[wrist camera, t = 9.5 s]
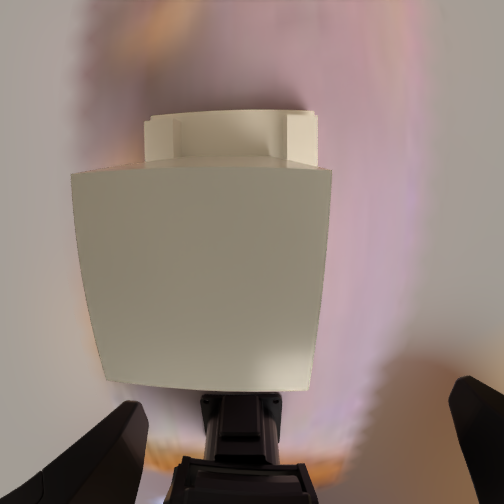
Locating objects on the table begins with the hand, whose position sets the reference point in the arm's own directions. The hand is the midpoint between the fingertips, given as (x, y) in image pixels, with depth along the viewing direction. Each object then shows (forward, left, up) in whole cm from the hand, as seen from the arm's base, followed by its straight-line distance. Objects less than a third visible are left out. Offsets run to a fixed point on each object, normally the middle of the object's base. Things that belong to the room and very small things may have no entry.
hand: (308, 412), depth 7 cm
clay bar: (+4, +2, -12) cm, 13 cm away
